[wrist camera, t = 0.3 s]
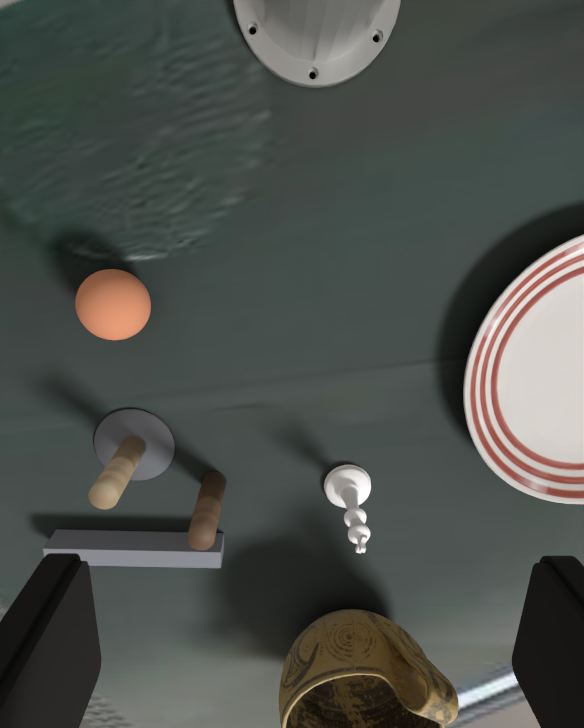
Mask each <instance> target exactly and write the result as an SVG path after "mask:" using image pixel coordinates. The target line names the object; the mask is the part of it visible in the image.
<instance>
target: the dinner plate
mask: <svg viewBox="0 0 584 728" xmlns="http://www.w3.org/2000/svg"><path fill="white" fill-rule="evenodd" d="M463 402H464V412H465V417H466V421H467V426H468V429H469V432H470V435H471V438H472V440H473V442H474V444H475V447H476V448H477V450H478V452H479V454H480V455H481V457H482V458H483V460H484V461H485V462H486V464H487V465H488V466H489V467H490V468H491V469H492V470H493V471H494V472H495V473H496V474H497V475H498V476H499V477H500V478H502V479H503V480H504V481H506V482H507V483H508V484H510V485H511V486H513V487H515V488H516V489H518V490H520V491H522V492H524V493H527V494H529V495H531V496H534V497H537V498H540V499H544V500H548V501H552V502H558V503H567V504H584V234H583V235H581V236H578V237H576V238H573V239H571V240H569V241H567V242H565V243H563V244H561V245H559V246H558V247H556V248H554V249H553V250H551V251H549V252H548V253H546V254H545V255H543V256H541V257H540V258H539V259H538V260H536V261H535V262H533V263H532V264H531V265H530V266H528V267H527V268H526V269H525V270H524V271H523V272H522V273H521V274H519V275H518V276H517V277H516V278H515V279H514V280H513V281H512V282H511V283H510V284H509V285H508V287H507V288H506V289H505V290H504V291H503V292H502V294H501V295H500V296H499V297H498V299H497V300H496V301H495V303H494V304H493V305H492V307H491V308H490V310H489V311H488V313H487V315H486V316H485V318H484V320H483V322H482V324H481V326H480V328H479V330H478V332H477V334H476V336H475V338H474V341H473V344H472V346H471V349H470V352H469V356H468V360H467V364H466V369H465V375H464V386H463Z"/></svg>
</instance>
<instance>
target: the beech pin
mask: <svg viewBox="0 0 584 728" xmlns="http://www.w3.org/2000/svg"><path fill="white" fill-rule="evenodd" d="M145 451H146V443H145V441H144V440H143V439H142V438H141V437H139V436H136V435H131V436H128V437H126V438H125V439H124V441H123V442H122V443H121V445H120V446H119V448H118V449H117V451H116V452H115V454H114V455H113V457H112V458H111V460H110V461H109V463H108V464H107V466H106V467H105V469H104V470H103V472H102V473H101V475H100V476H99V478H98V479H97V481H96V482H95V484H94V485H93V487H92V488H91V490H90V491H89V500H90V502H91V503H92V504H93V505H94V506H95V507H97V508H100V509H110V508H112V507H114V506H115V505H116V503H117V502H118V500H119V498H120V496H121V494H122V492H123V491H124V489H125V487H126V485H127V483H128V482H129V480H130V478H131V476H132V474H133V473H134V471H135V469H136V467H137V465H138V464H139V462H140V460H141V458H142V456H143V455H144V453H145Z"/></svg>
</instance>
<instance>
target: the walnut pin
mask: <svg viewBox="0 0 584 728" xmlns="http://www.w3.org/2000/svg"><path fill="white" fill-rule="evenodd" d="M225 485H226V479H225V477H224V475H223V474H221V473H219V472H216V471H212V472H209V473H207V474H206V475H205V476H204V478H203V481H202V485H201V488H200V492H199V495H198V499H197V503H196V506H195V510H194V513H193V517H192V520H191V524H190V527H189V531H188V534H187V542H188V544H189V545H190V546H191V547H192V548H193V549H196V550H207V549H209V548H210V547H212V545H213V544H214V541H215V536H216V531H217V525H218V520H219V515H220V510H221V505H222V500H223V495H224V490H225Z"/></svg>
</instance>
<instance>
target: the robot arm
mask: <svg viewBox="0 0 584 728" xmlns="http://www.w3.org/2000/svg"><path fill="white" fill-rule="evenodd" d="M233 1H234V7H235V12H236V16H237V20H238V23H239V26H240V29H241V32H242V34H243V36H244V38H245V40H246V42H247V44H248V46H249V48H250V50H251V51H252V52H253V54H254V55H255V56H256V57H257V59H258V60H259V61H260V63H261V64H263V65H264V66H265V67H266V68H267V69H268V70H269V71H270V72H271V73H273V74H274V75H276V76H278V77H279V78H281V79H283V80H284V81H286V82H289V83H292V84H295V85H298V86H301V87H310V88H321V87H331V86H334V85H337V84H340V83H343V82H345V81H347V80H349V79H351V78H352V77H354V76H356V75H358V74H359V73H360V72H361V71H362V70H364V69H365V68H366V67H367V66H368V65H369V64H371V62H372V61H373V60H374V59H375V57H376V56H377V55H378V54H379V52H380V51H381V50H382V48H383V47H384V45H385V44H386V42H387V40H388V38H389V36H390V34H391V31H392V29H393V27H394V25H395V22H396V19H397V15H398V11H399V7H400V2H401V0H233ZM251 29H255V30H256V33H255V34H254V35H252V34H250V30H251ZM374 36H376V37H378V40H379V41H378V42H374V41H373V37H374ZM311 73H314V74H315V76H316V78H315V79H311V78H310V77H309V75H310V74H311ZM512 666H513V671H514V674H515V676H516V679H517V681H518V683H519V685H520V687H521V689H522V691H523V693H524V695H525V697H526V699H527V701H528V703H529V705H530V707H531V709H532V711H533V713H534V714H535V716H536V719H537V721H538V723H539V724H540V726H541V728H584V566H583V565H582V564H581V563H580V562H579V561H578V560H577V559H576V558H575V557H573V556H543V557H542V558H541V560H540V562H539V563H535V564H534V566H533V569H532V573H531V577H530V581H529V586H528V590H527V594H526V599H525V603H524V607H523V612H522V616H521V620H520V625H519V629H518V633H517V637H516V642H515V646H514V650H513V655H512ZM100 668H101V652H100V645H99V637H98V630H97V622H96V615H95V608H94V600H93V593H92V586H91V578H90V571H89V565H88V562H87V561H81V559H80V556H79V554H77V553H49V554H47V555H46V556H45V557H44V558H43V559H42V561H41V562H40V564H39V565H38V567H37V568H36V570H35V571H34V573H33V574H32V576H31V577H30V579H29V580H28V582H27V583H26V585H25V586H24V588H23V589H22V591H21V592H20V593H19V595H18V596H17V598H16V599H15V601H14V602H13V604H12V605H11V607H10V608H9V610H8V611H7V613H6V614H5V616H4V617H3V619H2V620H1V622H0V728H79V726H80V723H81V721H82V718H83V716H84V713H85V710H86V708H87V705H88V703H89V700H90V698H91V695H92V692H93V690H94V687H95V685H96V682H97V679H98V676H99V673H100Z"/></svg>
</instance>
